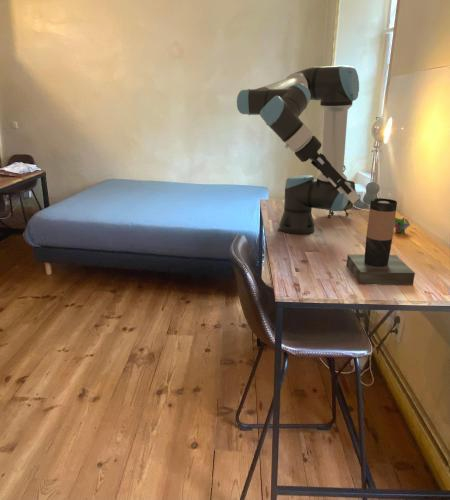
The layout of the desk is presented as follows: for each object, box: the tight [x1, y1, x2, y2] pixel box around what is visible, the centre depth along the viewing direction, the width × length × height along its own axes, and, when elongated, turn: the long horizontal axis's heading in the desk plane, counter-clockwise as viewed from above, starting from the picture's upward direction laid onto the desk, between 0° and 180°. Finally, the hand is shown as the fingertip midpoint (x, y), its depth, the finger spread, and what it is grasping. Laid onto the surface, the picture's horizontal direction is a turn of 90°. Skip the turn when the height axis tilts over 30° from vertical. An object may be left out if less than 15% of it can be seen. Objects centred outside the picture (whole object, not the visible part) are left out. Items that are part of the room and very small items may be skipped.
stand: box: [346, 253, 416, 286], centre depth 135 cm, size 16×16×4 cm
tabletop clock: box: [327, 165, 356, 219], centre depth 204 cm, size 14×9×25 cm, turn 114°
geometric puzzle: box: [394, 217, 411, 234], centre depth 180 cm, size 7×7×8 cm
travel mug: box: [364, 197, 398, 267], centre depth 131 cm, size 8×8×20 cm
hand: (350, 195), depth 128 cm, fingers open, 13 cm apart
